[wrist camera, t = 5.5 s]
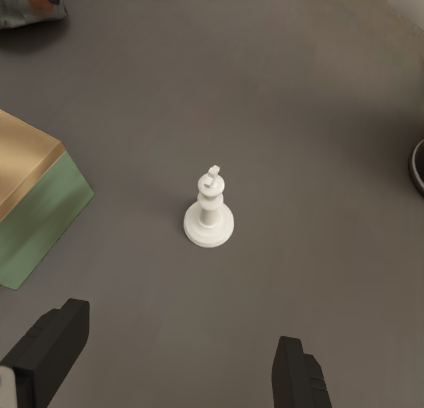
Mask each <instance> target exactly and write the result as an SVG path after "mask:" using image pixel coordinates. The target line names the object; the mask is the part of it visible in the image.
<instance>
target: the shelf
mask: <svg viewBox="0 0 424 408" xmlns="http://www.w3.org/2000/svg"><path fill="white" fill-rule="evenodd" d="M94 195H95V194H94V193H93V191H92V189H91V188H90V186H89V185H88V183H87V182H86V180H85V179H84V177H83V176H82V174H81V173H80V171H79V169H78V168H77V166H76V165H75V163H74V162H73V160H72V159H71V157H70V156H69V154H68V153H67V151H66V149H65V148H64V146H63V145H62V143H61V142H60V141H59V140H57V139H55V138H53V137H52V136H50V135H48V134H46V133H44V132H42V131H40V130H38V129H37V128H35V127H33V126H31V125H29V124H27V123H25V122H23V121H22V120H20V119H18V118H16V117H14V116H12V115H10V114H8V113H7V112H5V111H3V110H1V109H0V285H2V286H5V287H8V288H11V289H14V290H17V289H18V288H19V287H20V286H21V284H22V283H23V282H24V281H25V279H26V278H27V277H28V276H29V275H30V273H31V272H32V271H33V270H34V268H35V267H36V266H37V265H38V264H39V262H40V261H41V260H42V259H43V257H44V256H45V255H46V254H47V252H48V251H49V250H50V249H51V248H52V246H53V245H54V244H55V243H56V241H57V240H58V239H59V238H60V237H61V235H62V234H63V233H64V232H65V230H66V229H67V228H68V227H69V225H70V224H71V223H72V222H73V221H74V219H75V218H76V217H77V216H78V214H79V213H80V212H81V211H82V210H83V208H84V207H85V206H86V205H87V203H88V202H89V201H90V200H91V199H92V197H93V196H94Z"/></svg>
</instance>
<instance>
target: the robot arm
mask: <svg viewBox="0 0 424 408" xmlns="http://www.w3.org/2000/svg"><path fill="white" fill-rule="evenodd" d="M408 168H409V173H410V176H411V179H412V181H413V183H414V184H415V186H416V187H417V189H418V190H419V191H420V192H421V193H422V195H423V196H424V140H422V141H421V142H420V143H419V144H418V145H417V146H416V147H415V148H414V149H413V150H412V152H411V154H410V156H409V161H408ZM89 310H90V305H89V302H88V301H84V300H78V299H72V298H70V299H68V300H67V302H66V303H65V304H64V305H63V306H62V308H61V309H60V310H59V309H52V310H50V311H49V312H47V313H46V314H44V315H42V316H41V317H40V318H39V319H38V320H37V321H36V323H35V324H34V325H33V327H31V328H30V329H29V330H28V332H27V333H26V335H24V336H23V337H22V338H21V339H20V340H19V342H18V343H17V344H16V345H15V346H14V347H13V348H12V349H11V351H10V352H9V353H8V354H7V355H6V356H5V357H4V358H3V359H2V361H1V362H0V408H47V406H48V405H49V403H50V401H51V400H52V398H53V397H54V395H55V393H56V392H57V390H58V388H59V387H60V385H61V384H62V382H63V380H64V379H65V377H66V376H67V374H68V372H69V371H70V369H71V367H72V366H73V364H74V363H75V361H76V359H77V358H78V356H79V355H80V353H81V351H82V350H83V348H84V346H85V344H86V342H87V339H88V335H89ZM272 389H273V398H274V408H332V405H331V402H330V398H329V395H328V391H327V388H326V384H325V381H324V377H323V374H322V370H321V367H320V365H319V364H318V362H317V361H316V359H315V358H314V357H313V355H310V354H304V353H303V348H302V344H301V341H300V339H297V338H292V337H286V336H281V337H280V339H279V343H278V347H277V351H276V354H275V358H274V362H273V367H272Z"/></svg>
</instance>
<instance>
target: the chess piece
mask: <svg viewBox="0 0 424 408" xmlns="http://www.w3.org/2000/svg"><path fill="white" fill-rule="evenodd" d="M219 168H220V167H217V166H215V165H214V166H213V168H212V167H211V168H210V169H209V171H208V174H205V175H203V176H202V177H201V178H200V179H199V182H198V188H199V191H200V192H199V194H198V197H197V200H198V201H197V202H195V203H194V204H192V205H191V206H190V207H189V209H188V210H187V212H186V214H185V217H184V230H185V233H186V235H187V236H188V238H189V239H190V240H191V241H192V242H193V243H195V244H197V245H199V246H202V247H216V246H219V245H221V244H223V243H224V242H226V241H227V240H228V239H229V237H230V236H231V234H232V232H233V228H234V220H233V215H232V213H231V211H230V209H229V208H228V207H227V206H226V205H225V204H224V203H223V195H222V191H223V190H224V181H223V179H222V178H221V177H220V176H219V175H217V174H218V172H219Z"/></svg>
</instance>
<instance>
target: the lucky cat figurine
mask: <svg viewBox="0 0 424 408" xmlns="http://www.w3.org/2000/svg"><path fill="white" fill-rule="evenodd" d="M66 16H68V14H67V11H66V9H65V6H64V3H63V0H0V30H3V29H11V28H17V27H22V26H26V25H29V24H32V23H36V22H42V21H51V20H59V19H62V18H64V17H66Z"/></svg>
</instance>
